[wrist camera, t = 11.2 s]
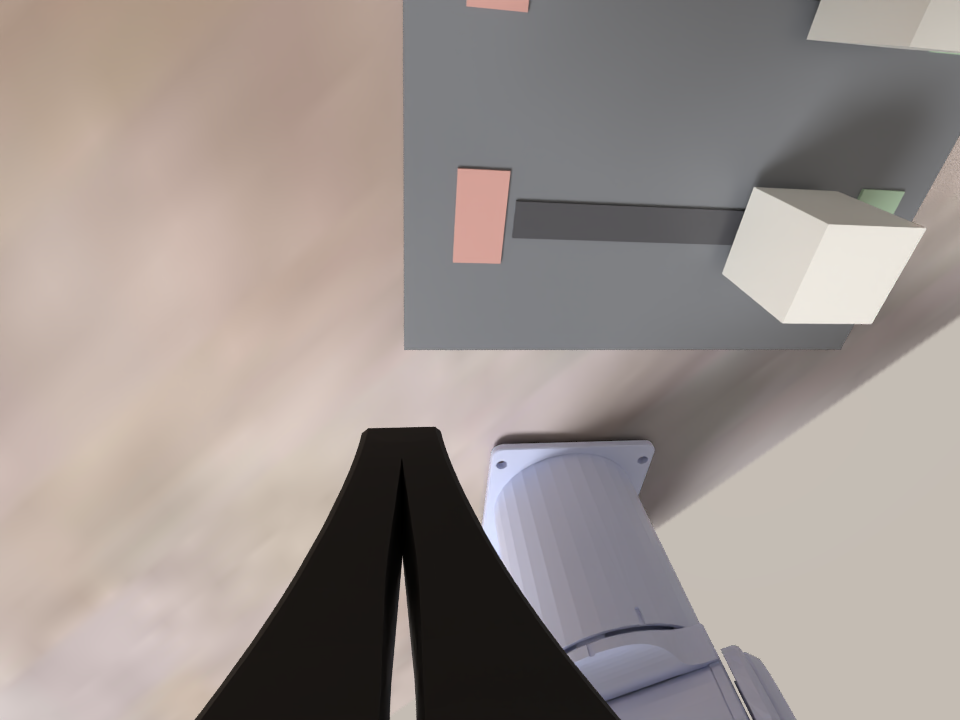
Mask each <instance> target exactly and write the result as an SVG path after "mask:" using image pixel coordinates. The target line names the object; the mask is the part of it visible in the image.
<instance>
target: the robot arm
mask: <svg viewBox="0 0 960 720" xmlns="http://www.w3.org/2000/svg"><path fill="white" fill-rule="evenodd" d="M654 452H655V448H654V446H653V444H652V443H651V442H650V441H648V440H631V441H596V442H560V443H525V444H501V445H497V446H495V447H494V448H493V449H492V451H491V457H490V465H489V473H488V481H487V489H486V497H485V505H484V513H483V522H482V526H481V524H480V522H479V520H478V518H477V516H476V515H475V513H474V511H473V509H472V507H471V505H470V503H469V501H468V499H467V497H466V495H465V493H464V491H463V489H462V487H461V485H460V483H459V480H458V478H457V476H456V473H455V471H454V469H453V467H452V464H451V461H450V459H449V456H448V454H447V451H446V448H445V445H444V442H443V438H442V434H441V431H440V430H438V429H437V428H436V427H406V428H368V429H367V430H366V431H364V432H363V433H362V435H361V439H360V443H359V446H358V449H357V452H356V455H355V458H354V460H353V463H352V466H351V468H350V471H349V473H348V475H347V477H346V480H345V482H344V484H343V487H342V489H341V491H340V493H339V495H338V497H337V499H336V501H335V503H334V505H333V507H332V509H331V511H330V513H329V515H328V517H327V519H326V521H325V523H324V525H323V527H322V529H321V531H320V533H319V535H318V536H317V538H316V540H315V542H314V543H313V545H312V547H311V549H310V550H309V552H308V554H307V556H306V557H305V559H304V561H303V563H302V565H301V566H300V568H299V570H298V572H297V573H296V575H295V577H294V578H293V580H292V582H291V583H290V585H289V586H288V588H287V590H286V591H285V593H284V594H283V596H282V598H281V599H280V601H279V602H278V604H277V605H276V607H275V608H274V610H273V612H272V613H271V615H270V616H269V618H268V619H267V621H266V622H265V624H264V625H263V626H262V628H261V629H260V631H259V632H258V634H257V635H256V637H255V638H254V640H253V641H252V643H251V644H250V646H249V647H248V648H247V650H246V651H245V652H244V654H243V655H242V657H241V658H240V659H239V661H238V662H237V664H236V665H235V666H234V668H233V669H232V671H231V672H230V673H229V675H228V676H227V677H226V679H225V680H224V682H223V683H222V684H221V686H220V687H219V689H218V690H217V691H216V693H215V694H214V695H213V697H212V698H211V699H210V701H209V702H208V703H207V704H206V706H205V707H204V708H203V710H202V711H201V712H200V714H199V715H198V716H197V718H196V719H195V720H390V697H391V680H392V668H393V657H394V646H395V635H396V624H397V612H398V601H399V590H400V579H401V567H402V556H403V565H404V576H405V586H406V596H407V607H408V617H409V627H410V637H411V648H412V658H413V668H414V678H415V694H416V715H417V716H416V717H417V720H750V719H749V717H748V715H747V713H746V711H745V709H744V707H743V705H742V703H741V701H740V699H739V697H738V695H737V693H736V691H735V689H734V686H733V685H732V682H731V680H730V678H729V676H728V674H727V672H726V670H725V668H724V666H723V664H722V662H721V660H720V658H719V656H718V654H717V652H716V650H715V649H714V646H713V644H712V642H711V640H710V638H709V636H708V634H707V632H706V630H705V628H704V626H703V625H702V624H700V623H699V621H698V619H697V616H696V614H695V613H694V610H693V608H692V606H691V604H690V602H689V600H688V598H687V596H686V594H685V592H684V590H683V588H682V586H681V583H680V582H679V579H678V577H677V575H676V573H675V571H674V569H673V567H672V565H671V563H670V561H669V559H668V557H667V555H666V553H665V551H664V548H663V546H662V544H661V542H660V541H659V538H658V536H657V534H656V532H655V530H654V528H653V526H652V524H651V522H650V520H649V518H648V516H647V513H646V511H645V509H644V507H643V505H642V503H641V501H640V499H639V497H638V496H639V493H640V490H641V487H642V485H643V482H644V479H645V477H646V474H647V471H648V468H649V466H650V463H651V460H652V457H653V455H654ZM640 457H641V458H640ZM500 461H504V462H502V463H498V462H500ZM721 651H722V653H723V655H724V657H725V659H726V661H727V663H728V665H729V668H730V670H731V671H732V674H733V675H734V678H735V679H736V681H734V682H735V684H736V686H737V688H738V691H739V693H740V695H741V697H742V699H743V701H744V703H745V704H746V707H747V709H748V711H749V713H750V715H751V717H752V719H753V720H796V718H795V716H794V715H793V713H792V711H791V709H790V708H789V706H788V704H787V702H786V701H785V699H784V697H783V695H782V694H781V692H780V690H779V688H778V687H777V685H776V683H775V682H774V680H773V678H772V677H771V675H770V673H769V672H768V670H767V669H766V667H765V666H764V664H763V663H762V661H761V660H760V659H759V658H757V657H755V656H753V655H750V654H748V653H746V652H744V653H743V652H742V650H741V649H740V648H739V647H738V646H735V645H731V646H729V647H726V648H723V649H721Z"/></svg>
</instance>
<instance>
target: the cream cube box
mask: <svg viewBox="0 0 960 720" xmlns="http://www.w3.org/2000/svg"><path fill="white" fill-rule="evenodd" d="M806 40H816V41H826V42H837V43H847V44H857V45H867V46H877V47H887V48H897V49H910V50H923V51H936V52H949V53H960V0H821V1H820V4H819V7H818V9H817V12H816V15H815V17H814V20H813V23H812V26H811V28H810V31H809V34H808V37H807V39H806Z"/></svg>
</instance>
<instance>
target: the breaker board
mask: <svg viewBox="0 0 960 720" xmlns="http://www.w3.org/2000/svg"><path fill="white" fill-rule="evenodd" d="M820 1H821V0H403V103H404V350H841V348H842V346H843V344H844V342H845V341H846V339H847V337H848V335H849V333H850V332H851V330H852V328H853V326H854V324H791V323H781V322H780V321H779V320H778V319H776V318H775V317H774V316H773V315H772V314H770V313H769V312H768V311H767V310H765V309H764V308H763V307H762V306H761V305H759V304H758V303H757V302H756V301H755V300H753V299H752V298H751V297H750V296H748V295H747V294H746V293H745V292H744V291H742V290H741V289H740V288H739V287H737V286H736V285H735V284H734V283H733V282H731V281H730V280H729V279H728V278H727V277H725V276H724V275H723V274H722V272H723V269H724V267H725V264H726V261H727V258H728V256H729V253H730V250H731V248H732V245H733V242H734V239H735V237H736V234H737V231H738V229H739V226H740V223H741V220H742V218H743V215H744V212H745V210H746V207H747V204H748V201H749V199H750V196H751V193H752V191H753V188H754V187H765V188H784V189H804V190H824V191H838V192H840V193H843V194H845V195H848V196H850V197H852V198H855V199H857V200H860V201H862V202H865V203H867V204H869V205H872V206H874V207H877V208H879V209H881V210H884V211H886V212H889V213H891V214H894V215H896V216H898V217H901V218H903V219H906V220H908V221H910V222H912V220H913V218H914V216H915V215H916V213H917V211H918V209H919V207H920V206H921V204H922V202H923V200H924V198H925V197H926V195H927V193H928V191H929V190H930V188H931V186H932V184H933V182H934V181H935V179H936V177H937V175H938V173H939V172H940V170H941V168H942V166H943V164H944V163H945V161H946V159H947V157H948V155H949V154H950V152H951V150H952V148H953V146H954V145H955V143H956V141H957V139H958V137H959V136H960V53H949V52H936V51H923V50H910V49H897V48H887V47H877V46H867V45H857V44H847V43H837V42H826V41H816V40H806V39H807V37H808V34H809V31H810V28H811V26H812V23H813V20H814V17H815V15H816V12H817V9H818V7H819V4H820Z"/></svg>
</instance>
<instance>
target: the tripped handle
mask: <svg viewBox="0 0 960 720" xmlns="http://www.w3.org/2000/svg"><path fill="white" fill-rule="evenodd" d="M926 229H927V228H925V227H923V226H920V225H918V224H915V223H913V222H910V221H908V220H906V219H903V218H901V217H898V216H896V215H894V214H891V213H889V212H886V211H884V210H881V209H879V208H877V207H874V206H872V205H869V204H867V203H865V202H862V201H860V200H857V199H855V198H852V197H850V196H848V195H845V194H843V193H840V192H838V191H824V190H804V189H784V188H765V187H754V188H753V191H752V193H751V196H750V199H749V201H748V204H747V207H746V210H745V212H744V215H743V218H742V220H741V223H740V226H739V229H738V231H737V234H736V237H735V239H734V242H733V245H732V248H731V250H730V253H729V256H728V258H727V261H726V264H725V267H724V269H723V272H722V274H723V275H724V276H725V277H727V278H728V279H729V280H730V281H731V282H733V283H734V284H735V285H736V286H737V287H739V288H740V289H741V290H742V291H744V292H745V293H746V294H747V295H748V296H750V297H751V298H752V299H753V300H755V301H756V302H757V303H758V304H759V305H761V306H762V307H763V308H764V309H765V310H767V311H768V312H769V313H770V314H772V315H773V316H774V317H775V318H776V319H778V320H779V321H780V322H781V323H791V324H872V322H873V321H874V319H875V317H876V315H877V314H878V312H879V310H880V308H881V307H882V305H883V303H884V302H885V300H886V298H887V296H888V295H889V293H890V291H891V289H892V288H893V286H894V284H895V282H896V281H897V279H898V277H899V276H900V274H901V272H902V270H903V269H904V267H905V265H906V263H907V262H908V260H909V258H910V256H911V255H912V253H913V251H914V250H915V248H916V246H917V244H918V243H919V241H920V239H921V237H922V236H923V234H924V232H925V230H926Z"/></svg>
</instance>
